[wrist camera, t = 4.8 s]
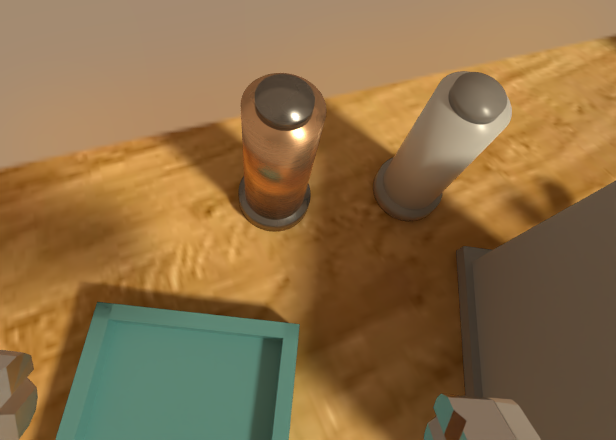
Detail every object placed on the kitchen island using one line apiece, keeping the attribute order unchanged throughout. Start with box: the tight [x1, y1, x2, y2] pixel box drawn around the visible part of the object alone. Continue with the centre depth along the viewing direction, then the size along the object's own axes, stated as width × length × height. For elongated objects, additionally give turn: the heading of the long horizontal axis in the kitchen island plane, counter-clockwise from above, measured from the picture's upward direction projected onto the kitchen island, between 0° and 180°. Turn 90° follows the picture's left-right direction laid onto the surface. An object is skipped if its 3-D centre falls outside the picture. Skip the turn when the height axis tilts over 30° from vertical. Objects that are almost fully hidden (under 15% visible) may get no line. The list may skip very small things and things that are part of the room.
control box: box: [456, 181, 616, 440], centre depth 18 cm, size 7×16×12 cm, turn 175°
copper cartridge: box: [239, 73, 326, 231], centre depth 21 cm, size 5×5×10 cm
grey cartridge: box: [373, 71, 512, 221], centre depth 23 cm, size 5×5×10 cm
